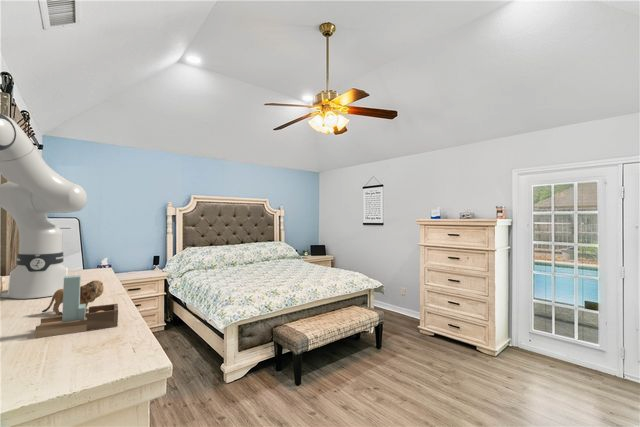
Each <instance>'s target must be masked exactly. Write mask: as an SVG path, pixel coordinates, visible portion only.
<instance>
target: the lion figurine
mask: <svg viewBox="0 0 640 427" xmlns="http://www.w3.org/2000/svg"><path fill="white" fill-rule="evenodd" d="M103 284H104V282H103V281H100V280H99V279H97V280H96V279H95V280H91V281H90V282H87V283H86V284H84V285H80V304H86V313H89V308H87V307H88V306H89V305H88V304H89V303H93V302H94V301H95V300H96V299H97V298H99V297H101V296H102V294H103V293H104V289H105V288H104V287H105V286H104V285H103ZM51 297H52V298H51V300H50V303H49V305H48V307H47V308H45V309H43V310H41V313H46V312H47V311H49V309H50V308H51V307H52V305H53V307H52V311H53V312H55V315H56V316H57V315H58V316H61V315H62V312H63V311H60V305H62V304H63V289H59V290H57V291H56V292H55V293H54V295H53V296H51Z"/></svg>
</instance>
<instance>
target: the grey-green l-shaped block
mask: <svg viewBox="0 0 640 427" xmlns="http://www.w3.org/2000/svg"><path fill="white" fill-rule="evenodd" d="M81 278H82V275H81V274H77V275H74V274H73V275H68V276H65V277H64V288H63V303H62V311H61V312H62V314H61V316H62V323H63V322H70V321H78V320H85V314H86V313H87V312H86V304H80V287H81V281H82V280H81Z"/></svg>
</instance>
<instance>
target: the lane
mask: <svg viewBox="0 0 640 427" xmlns="http://www.w3.org/2000/svg"><path fill="white" fill-rule="evenodd" d="M87 313H88V312H86V314H85V320H78V321H70V322H63V323H62V315H58V316H51V317H43V318H40V324H39V325H35V331H34V332H35V334H34V339H39V338H44V337H45V338H47V337H53V336H58V335H59V336H60V335H66V334H74V333H79V332H88V331H87Z"/></svg>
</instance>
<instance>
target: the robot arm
mask: <svg viewBox="0 0 640 427" xmlns="http://www.w3.org/2000/svg"><path fill="white" fill-rule="evenodd" d="M25 132H26V131H24V130H23V129H22V128H21V126H20V125H19V124H18V123H17V122H16V121H15V120H14V119H13V118H11V117H10V116H7V115H4V114H2V113H0V175H1V176H2V177H3V178H4V179H5V180H7V181H8V182H4V183H2V184H0V207H1V208H2V209H3V210H5V211H6V212H7V213H8V214H9V215H10V216H11V217H12V219H13V221H14V222H15V225H16V226H17V230H18V244H19V245H18V253H17V255H16V260H15V261H16V265H17V266H16V267H15V268H13V269H12V270H11V271H10V273H9V278H8V289H7V291H5V292H3V293H1V295H0V298H9V299H18V300H19V299H21V300H22V299H23V300H25V299H36V298H45V297H46V298H47V297H53V295H54V293H55V292H56V291H57V290H59V289H63V288H64V277H65V276H69V275H68V273H69V272H68V270H69V269H68V267H67V266H65V265H64V263H63V262H64V259H65V255H64V252H63V236H64V235H63V233H64V232H63V230H62V229H61V228H60V227H59V226H58V225H55V224H54V223H52V222H51V221H50V220H49V218H48V214H70V213H75V212H81V211H82V209H84V207H85V206H86V204H87V202H88V194H87V192H86V190H85V189H84V188H83V186H81V185H79V184H77V183H74V182H72V181H70V180H68V179H66V178H65V177H63V176H62V175H60V174H58V172H56V171H55V170H53V168H51V166H50V165H48V164H47V163H46V161H45V160H44V159H43V158H42V156H41V154H40V153H39V152H38V151H39V150H37V148H36V146H35V145H34V143H33V142H32V140H31V139H30V137H29V135H27V134H26V133H25Z"/></svg>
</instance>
